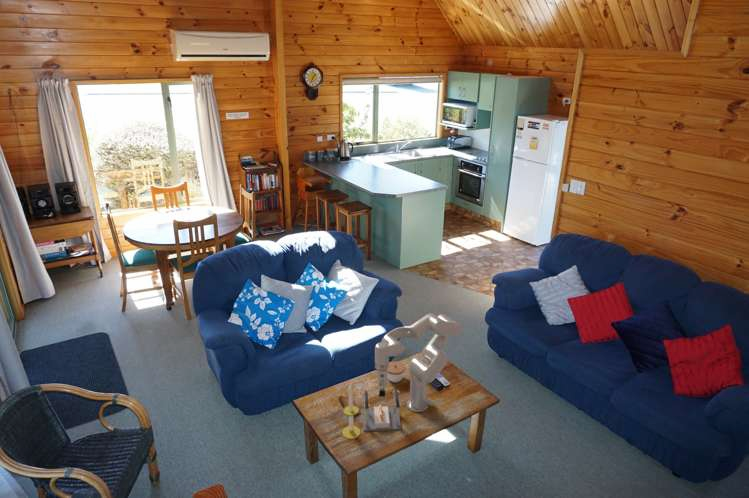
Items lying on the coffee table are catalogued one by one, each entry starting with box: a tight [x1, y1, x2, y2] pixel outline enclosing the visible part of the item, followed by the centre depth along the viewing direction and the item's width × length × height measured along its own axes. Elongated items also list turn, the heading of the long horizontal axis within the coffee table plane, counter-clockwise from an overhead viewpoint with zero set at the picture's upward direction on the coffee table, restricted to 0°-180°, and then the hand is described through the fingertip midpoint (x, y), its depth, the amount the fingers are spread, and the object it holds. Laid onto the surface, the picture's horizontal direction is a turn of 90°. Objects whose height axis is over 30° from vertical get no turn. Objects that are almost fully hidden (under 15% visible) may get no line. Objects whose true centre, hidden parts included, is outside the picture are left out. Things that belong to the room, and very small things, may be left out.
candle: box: [342, 383, 361, 440], centre depth 274 cm, size 10×10×32 cm
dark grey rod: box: [364, 390, 369, 409], centre depth 283 cm, size 2×15×2 cm, turn 3°
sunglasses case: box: [338, 395, 363, 418], centre depth 299 cm, size 18×7×7 cm
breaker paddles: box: [378, 404, 383, 420], centre depth 287 cm, size 1×9×3 cm, turn 2°
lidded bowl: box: [387, 361, 406, 383], centre depth 323 cm, size 13×13×11 cm
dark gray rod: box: [394, 389, 401, 408], centre depth 284 cm, size 2×15×2 cm, turn 3°
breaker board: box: [362, 390, 402, 432], centre depth 286 cm, size 21×16×15 cm
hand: (381, 390), depth 281 cm, fingers open, 9 cm apart
